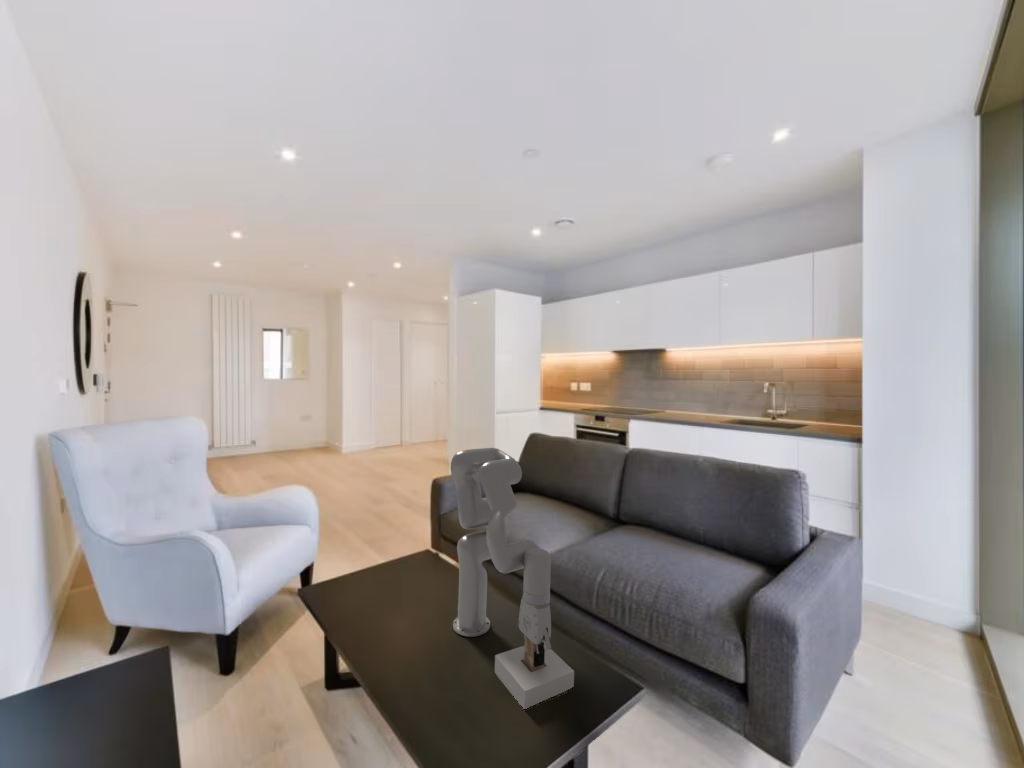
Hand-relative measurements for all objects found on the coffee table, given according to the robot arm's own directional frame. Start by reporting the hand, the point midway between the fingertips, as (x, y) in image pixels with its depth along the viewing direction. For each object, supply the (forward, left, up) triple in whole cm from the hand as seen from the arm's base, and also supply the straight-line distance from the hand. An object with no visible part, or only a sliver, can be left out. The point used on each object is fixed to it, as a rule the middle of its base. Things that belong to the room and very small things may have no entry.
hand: (534, 659), depth 121 cm
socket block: (0, 0, -6) cm, 6 cm away
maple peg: (0, 0, -3) cm, 3 cm away
